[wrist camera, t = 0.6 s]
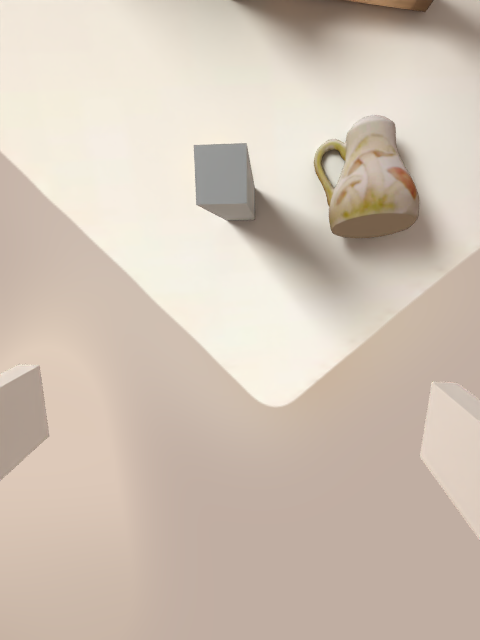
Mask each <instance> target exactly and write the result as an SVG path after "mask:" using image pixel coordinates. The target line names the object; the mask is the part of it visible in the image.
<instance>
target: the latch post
mask: <svg viewBox="0 0 480 640" xmlns="http://www.w3.org/2000/svg"><path fill="white" fill-rule="evenodd" d="M194 160H195V183H196V205H198V206H200V207H202V208H204V209H206V210H208V211H210V212H211V213H213V214H215V215H217V216H219V217H221V218H223V219H225V220H255V187H254V181H253V176H252V170H251V165H250V160H249V154H248V149H247V144H246V143H240V144H213V145H194Z"/></svg>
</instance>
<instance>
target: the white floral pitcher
mask: <svg viewBox="0 0 480 640" xmlns="http://www.w3.org/2000/svg"><path fill="white" fill-rule="evenodd" d="M395 133H396V128H395V124H394V122H393V121H391V120H390V119H388V118H386V117H384V116H379V115H372V116H367V117H364V118H362V119H360V120H359V121H357V122H356V123H355V124H354V125H353V126H352V128H351V129H350V130H349V132H348V133H347V137H346V142H345V143H343V142H341V141H339V140H337V139H331V140H328V141H326V142H325V143H324V144H322V145H321V146H320V147H319V148H318V150H317V152H316V154H315V158H314V166H315V171H316V174H317V176H318V178H319V180H320V181H321V183H322V185H323V188H324V190H325V192H326V196H327V202H328V205H329V221H330V227H331V231H332V233H333V234H335V235H338V236H342V237H350V238H370V237H378V236H384V235H389V234H393V233H396V232H399V231H403V230H405V229H408V228H409V227H410V226H411V225H412V224H414V222H415V221H416V220H417V219H418V213H419V196H418V192H417V190H416V187H415V184H414V182H413V180H412V178H411V176H410V174H409V173H408V171H407V169H406V167H405V166H404V164H403V162H402V160H401V158H400V156H399V154H398V151H397V147H396V135H395ZM333 149H334V150H338V151H339V152H340V155H341V157H342V158H343V159H344V161H345V163H344V167H343V169H342V172H341V175H340V177H339V180H338V182H337V185H336V187H335V188H333V186H332V185H331V183H330V182H329V180H328V179H327V177H326V175H325V173H324V171H323V168H322V163H321V162H322V157H323V155H324V154H325V153H326V152H327V151H329V150H333Z"/></svg>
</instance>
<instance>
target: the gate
mask: <svg viewBox="0 0 480 640" xmlns="http://www.w3.org/2000/svg"><path fill="white" fill-rule="evenodd" d="M345 1H352V2H359V3H366V4H374V5H381V6H388V7H395V8H402V9H409V10H416V11H423V12H426V10H427V9H428V7H429V6H430V5H431V3H432V2H433V0H345Z"/></svg>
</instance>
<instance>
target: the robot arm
mask: <svg viewBox="0 0 480 640" xmlns="http://www.w3.org/2000/svg"><path fill="white" fill-rule="evenodd" d="M48 437H49V431H48V423H47V416H46V409H45V401H44V394H43V387H42V379H41V373H40V366H39V365H20V364H19V365H16V366H14V367H12V368H10V369H9V370H7V371H5V372H3V373H1V374H0V481H1V480H2V479H3V478H4V477H5V476H6V475H7V474H8V473H9V472H10V471H11V470H13V469H14V468H15V467H16V466H17V465H18V464H19V463H20V462H21V461H22V460H23V459H24V458H26V457H27V456H28V455H29V454H30V453H31V452H32V451H33V450H35V449H36V448H37V447H38V446H39V445H40V444H41V443H42V442H43V441H44V440H45V439H47V438H48ZM420 458H421V459H422V461H423V462H424V463H425V465H426V466H427V468H428V469H429V470H430V472H431V473H432V474H433V476H434V477H435V479H436V480H437V482H438V483H439V484H440V486H441V487H442V489H443V490H444V491H445V492H446V494H447V495H448V497H449V498H450V500H451V501H452V503H453V504H454V505H455V507H456V508H457V509H458V511H459V512H460V514H461V515H462V516H463V518H464V519H465V521H466V522H467V524H468V525H469V526H470V528H471V529H472V530H473V532H474V533H475V535H476V536H477V537H478V539H479V540H480V399H478V398H477V397H476V396H474V395H473V394H472V393H470V392H469V391H468V390H466V389H465V388H464V387H462V386H461V385H460V384H458V383H456V382H433V381H432V384H431V391H430V397H429V403H428V409H427V415H426V421H425V427H424V433H423V439H422V446H421V452H420Z"/></svg>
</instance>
